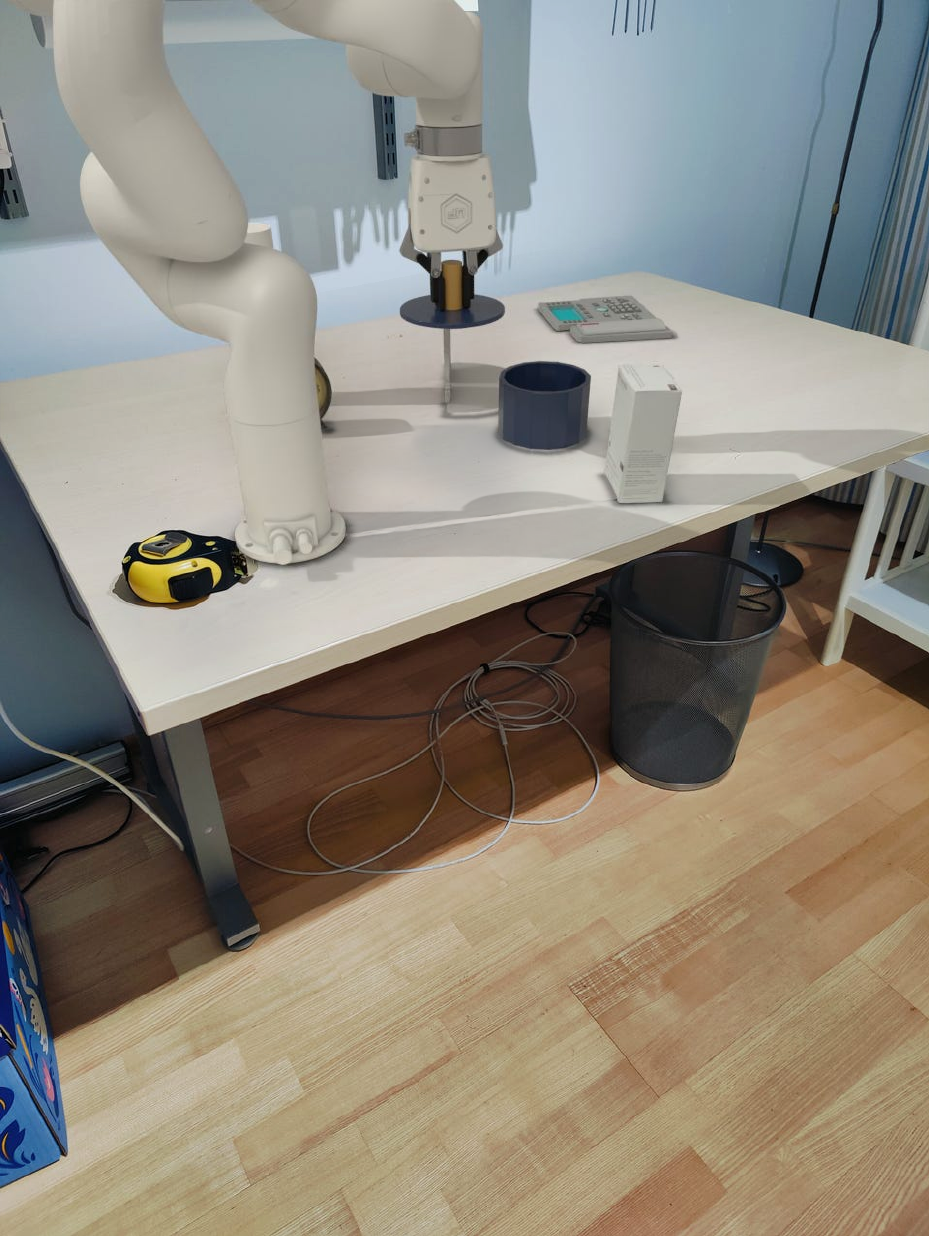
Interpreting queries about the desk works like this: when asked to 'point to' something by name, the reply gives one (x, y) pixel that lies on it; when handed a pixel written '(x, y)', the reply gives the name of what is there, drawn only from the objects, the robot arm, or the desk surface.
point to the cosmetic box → (642, 432)
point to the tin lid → (452, 305)
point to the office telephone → (604, 319)
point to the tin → (543, 405)
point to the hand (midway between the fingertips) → (452, 305)
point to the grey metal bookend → (469, 384)
